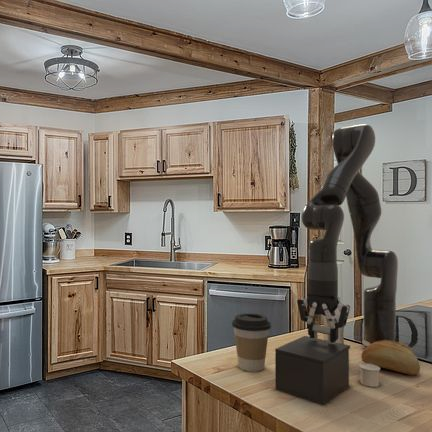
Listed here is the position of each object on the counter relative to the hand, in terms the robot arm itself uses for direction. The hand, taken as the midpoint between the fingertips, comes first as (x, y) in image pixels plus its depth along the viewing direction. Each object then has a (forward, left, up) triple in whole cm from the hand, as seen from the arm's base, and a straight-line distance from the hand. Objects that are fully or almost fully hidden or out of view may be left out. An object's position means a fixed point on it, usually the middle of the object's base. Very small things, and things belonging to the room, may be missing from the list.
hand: (322, 339), depth 117 cm
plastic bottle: (-15, +5, -12) cm, 20 cm away
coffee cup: (-5, -19, -12) cm, 23 cm away
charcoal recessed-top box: (+6, -3, -11) cm, 13 cm away
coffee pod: (-1, +12, -11) cm, 16 cm away
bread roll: (-14, +20, -12) cm, 27 cm away
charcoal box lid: (+5, -3, -2) cm, 6 cm away
